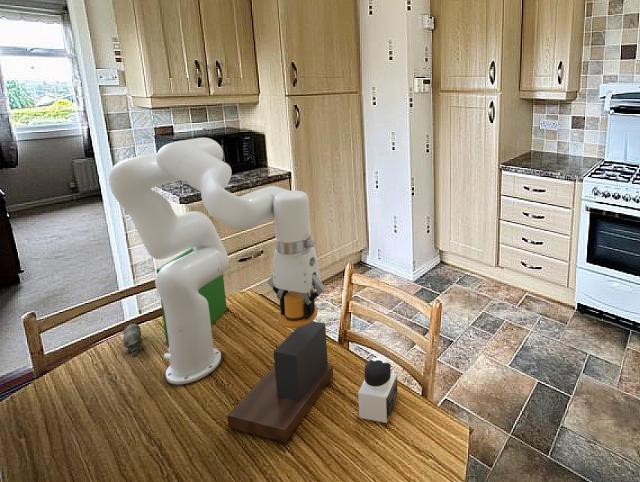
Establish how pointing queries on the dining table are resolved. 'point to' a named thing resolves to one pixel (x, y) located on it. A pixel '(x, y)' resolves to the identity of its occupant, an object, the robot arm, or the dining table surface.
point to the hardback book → (205, 294)
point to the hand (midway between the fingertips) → (297, 313)
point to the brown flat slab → (274, 408)
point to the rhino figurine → (132, 339)
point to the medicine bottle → (378, 391)
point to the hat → (294, 311)
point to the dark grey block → (300, 360)
